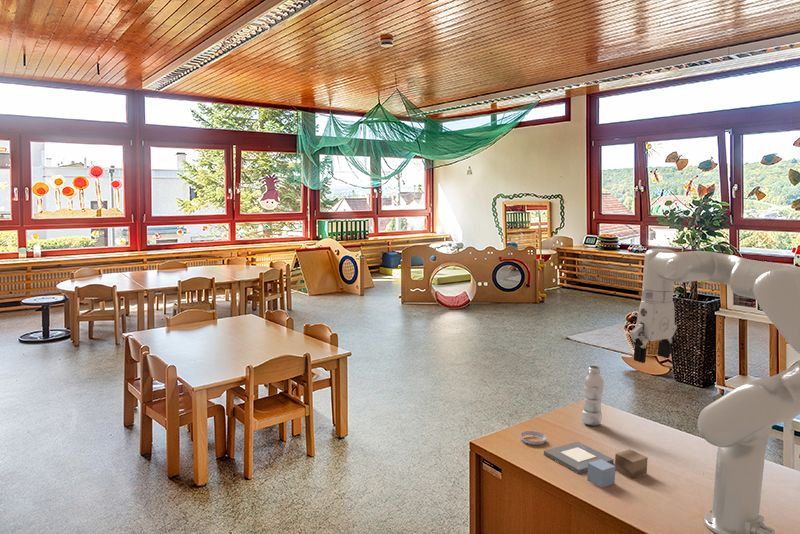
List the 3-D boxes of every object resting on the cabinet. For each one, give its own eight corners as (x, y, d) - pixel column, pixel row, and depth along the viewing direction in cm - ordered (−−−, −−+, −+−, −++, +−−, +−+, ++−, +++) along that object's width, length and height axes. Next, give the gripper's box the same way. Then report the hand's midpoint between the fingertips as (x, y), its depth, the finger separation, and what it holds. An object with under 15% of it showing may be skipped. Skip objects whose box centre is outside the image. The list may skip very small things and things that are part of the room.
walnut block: (646, 474, 165) (647, 457, 165) (632, 479, 162) (633, 462, 162) (628, 465, 171) (629, 449, 170) (614, 470, 168) (615, 453, 167)
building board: (613, 463, 172) (613, 458, 171) (578, 473, 165) (579, 469, 165) (577, 445, 184) (577, 440, 184) (543, 454, 177) (543, 450, 177)
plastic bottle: (587, 418, 205) (590, 363, 203) (605, 424, 200) (608, 367, 198) (577, 423, 201) (580, 366, 199) (594, 429, 196) (598, 371, 194)
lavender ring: (551, 442, 186) (551, 436, 186) (536, 449, 181) (537, 443, 181) (529, 434, 192) (530, 429, 192) (515, 441, 187) (515, 435, 187)
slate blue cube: (614, 483, 160) (615, 466, 159) (601, 488, 157) (602, 470, 157) (599, 476, 164) (600, 458, 163) (587, 480, 162) (588, 462, 161)
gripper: (647, 301, 146) (641, 367, 149) (690, 296, 155) (684, 358, 157) (622, 296, 153) (617, 359, 155) (665, 291, 161) (660, 351, 164)
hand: (651, 359), depth 156 cm, fingers open, 9 cm apart
